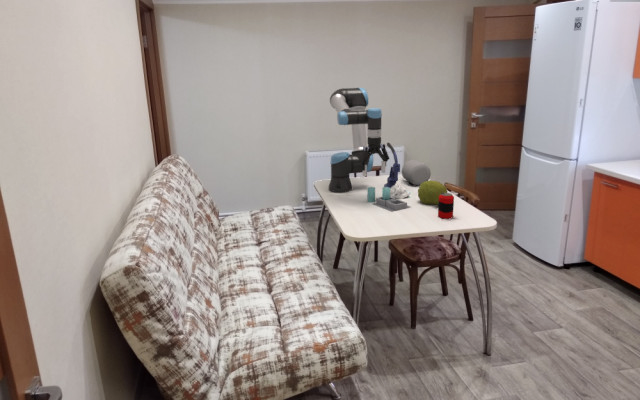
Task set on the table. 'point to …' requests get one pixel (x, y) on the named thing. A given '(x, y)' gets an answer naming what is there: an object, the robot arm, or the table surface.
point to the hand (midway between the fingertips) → (374, 174)
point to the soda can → (445, 205)
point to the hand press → (393, 170)
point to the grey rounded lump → (416, 172)
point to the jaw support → (398, 191)
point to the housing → (391, 204)
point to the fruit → (431, 192)
